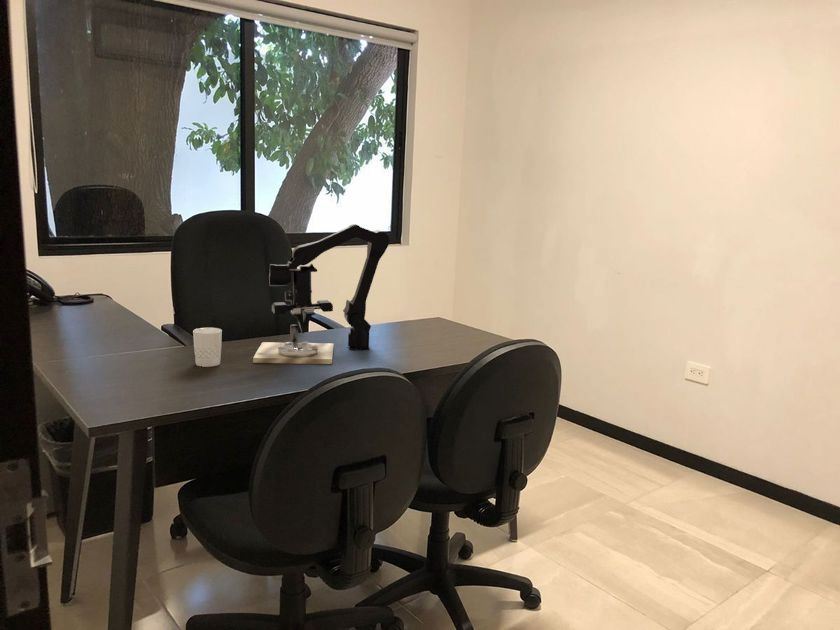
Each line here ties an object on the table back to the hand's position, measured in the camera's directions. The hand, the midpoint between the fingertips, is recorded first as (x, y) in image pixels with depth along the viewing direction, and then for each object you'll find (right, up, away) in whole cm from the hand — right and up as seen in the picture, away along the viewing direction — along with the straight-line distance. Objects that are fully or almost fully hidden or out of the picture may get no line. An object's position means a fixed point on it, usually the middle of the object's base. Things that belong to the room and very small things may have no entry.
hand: (302, 333), depth 209 cm
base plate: (-1, -7, -7) cm, 10 cm away
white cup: (-24, -9, -22) cm, 33 cm away
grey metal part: (-1, -5, -7) cm, 9 cm away
